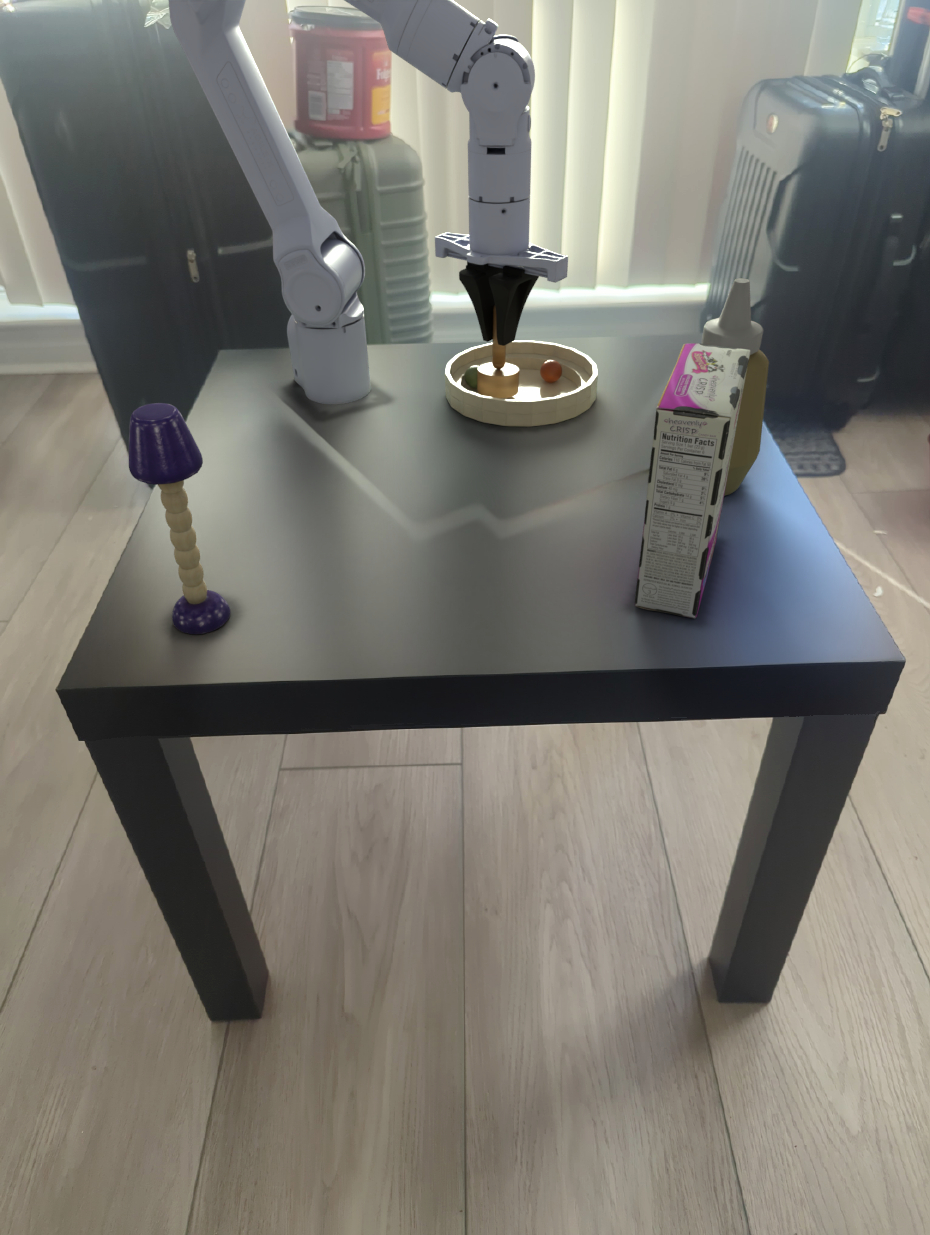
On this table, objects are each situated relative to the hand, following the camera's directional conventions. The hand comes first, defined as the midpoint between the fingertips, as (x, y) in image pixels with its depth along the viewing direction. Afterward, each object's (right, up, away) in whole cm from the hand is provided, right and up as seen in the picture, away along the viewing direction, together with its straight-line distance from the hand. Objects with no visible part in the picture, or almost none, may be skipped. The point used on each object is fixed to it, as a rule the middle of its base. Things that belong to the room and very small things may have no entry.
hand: (498, 340), depth 88 cm
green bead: (-1, -3, +5) cm, 6 cm away
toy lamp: (-23, -29, -23) cm, 43 cm away
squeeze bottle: (+19, -16, -10) cm, 26 cm away
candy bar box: (+13, -25, -20) cm, 35 cm away
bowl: (+3, -5, +5) cm, 7 cm away
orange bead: (+6, -2, +6) cm, 9 cm away
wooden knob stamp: (0, -4, +3) cm, 5 cm away
